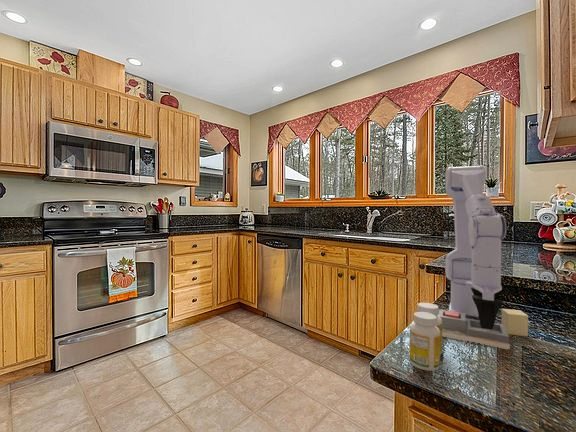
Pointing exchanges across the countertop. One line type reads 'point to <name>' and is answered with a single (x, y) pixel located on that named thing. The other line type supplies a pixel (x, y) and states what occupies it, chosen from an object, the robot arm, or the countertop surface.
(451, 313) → the plunger
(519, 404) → the countertop surface
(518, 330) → the tan block
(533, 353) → the countertop surface
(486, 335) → the panel
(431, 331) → the supplement bottle
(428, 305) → the supplement bottle
